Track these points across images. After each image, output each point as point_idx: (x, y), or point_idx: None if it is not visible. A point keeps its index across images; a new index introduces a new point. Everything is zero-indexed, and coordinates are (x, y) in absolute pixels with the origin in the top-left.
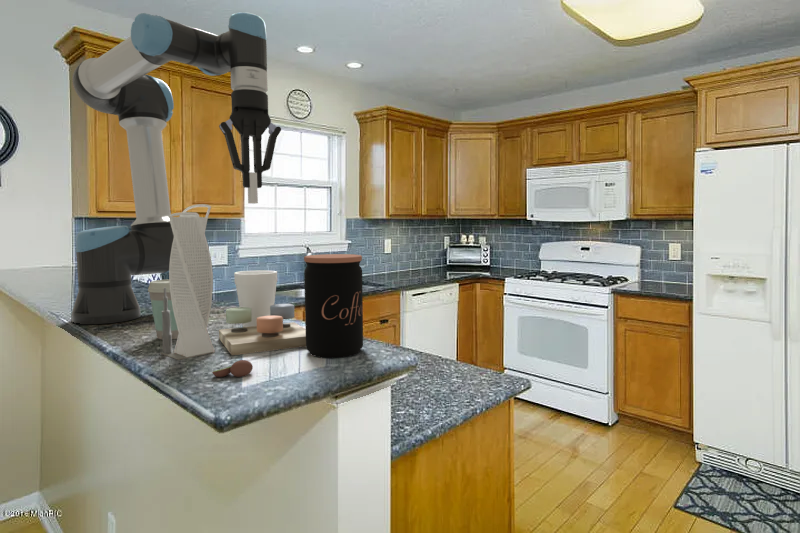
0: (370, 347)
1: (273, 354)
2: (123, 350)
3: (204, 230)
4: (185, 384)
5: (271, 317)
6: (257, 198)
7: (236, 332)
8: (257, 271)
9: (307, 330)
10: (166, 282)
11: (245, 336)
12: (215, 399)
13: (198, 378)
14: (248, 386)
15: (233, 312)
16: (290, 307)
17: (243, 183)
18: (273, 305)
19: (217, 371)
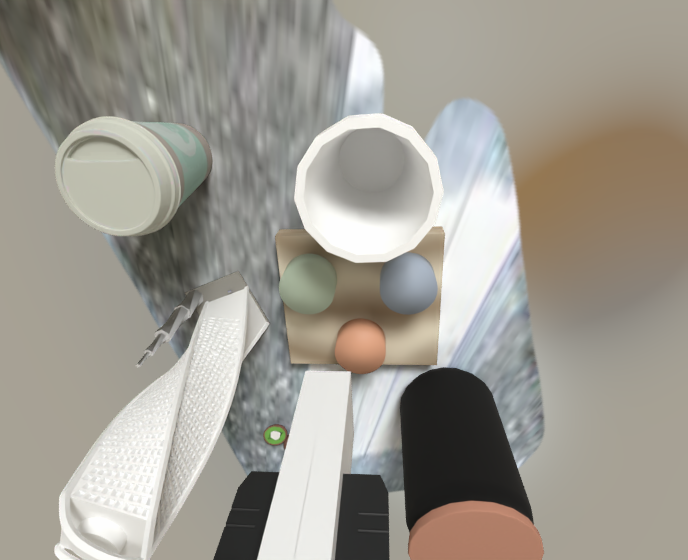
0: (507, 401)
1: (354, 373)
2: (116, 240)
3: (162, 477)
4: (236, 438)
5: (364, 351)
6: (351, 455)
7: None
8: (386, 129)
9: (401, 429)
10: (104, 199)
11: (319, 319)
12: None
13: (249, 426)
14: None
15: (294, 308)
16: (421, 311)
17: (239, 514)
18: (391, 275)
19: (268, 443)
